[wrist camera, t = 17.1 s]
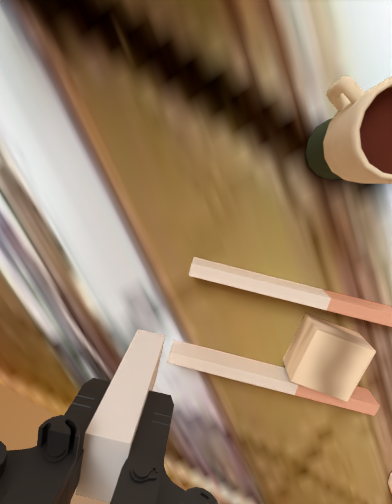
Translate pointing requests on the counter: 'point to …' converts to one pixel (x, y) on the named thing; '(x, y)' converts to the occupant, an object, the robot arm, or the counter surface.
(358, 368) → the maple block
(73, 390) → the counter surface
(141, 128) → the counter surface
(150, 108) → the counter surface
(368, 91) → the character mug
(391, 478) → the white cup
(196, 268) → the channel
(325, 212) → the counter surface
